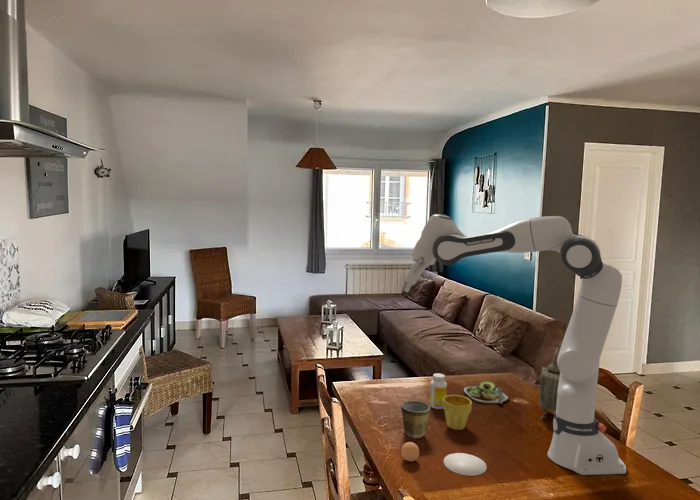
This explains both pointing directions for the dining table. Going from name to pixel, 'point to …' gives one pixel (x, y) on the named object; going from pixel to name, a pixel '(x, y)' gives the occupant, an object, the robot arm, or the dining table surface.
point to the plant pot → (456, 411)
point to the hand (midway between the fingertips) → (408, 287)
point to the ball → (410, 451)
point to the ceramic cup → (415, 417)
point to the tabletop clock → (549, 387)
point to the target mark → (465, 464)
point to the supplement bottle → (437, 391)
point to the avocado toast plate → (486, 393)
